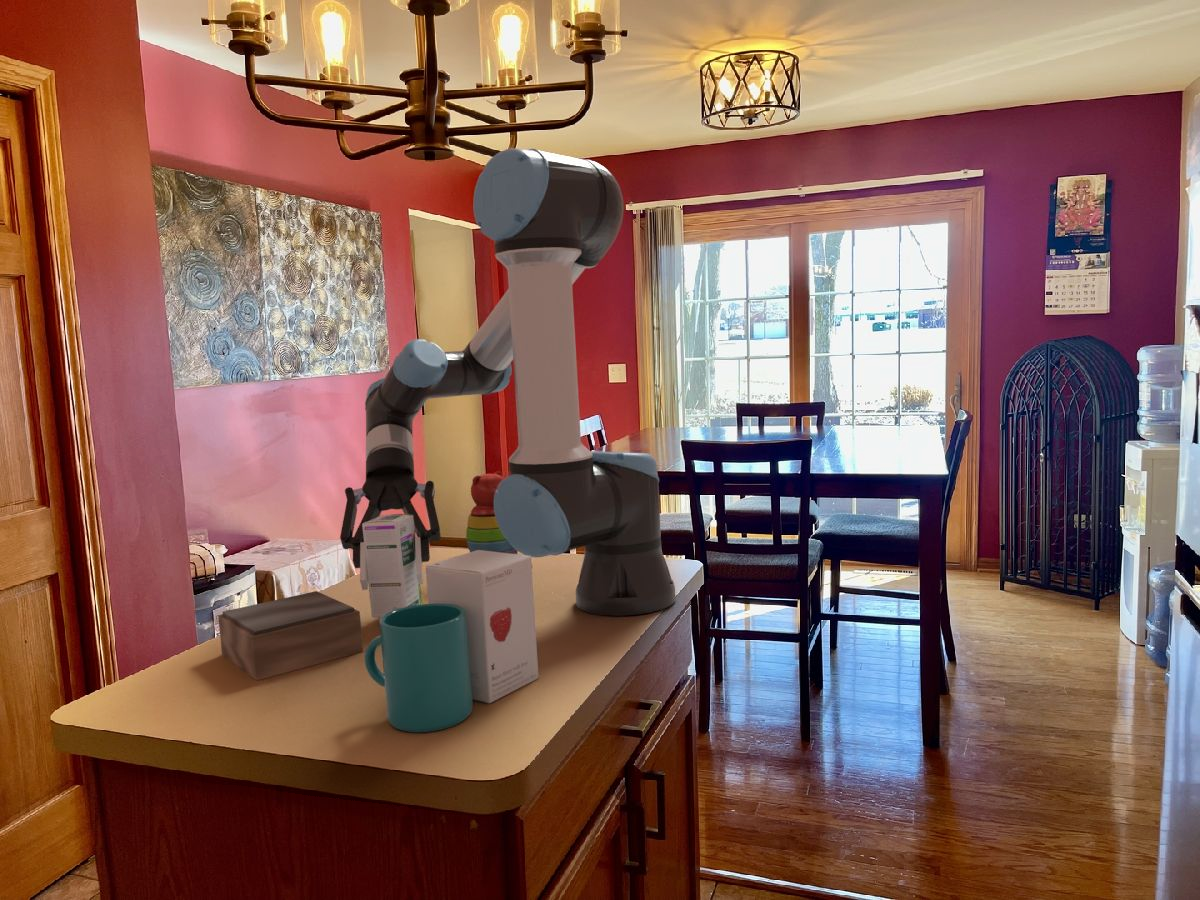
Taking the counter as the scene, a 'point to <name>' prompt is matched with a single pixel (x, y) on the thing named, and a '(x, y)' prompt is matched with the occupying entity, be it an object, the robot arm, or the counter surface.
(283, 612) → the plinth
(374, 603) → the syrup box
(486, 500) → the stacking bear
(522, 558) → the supplement box
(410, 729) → the cup
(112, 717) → the counter surface
